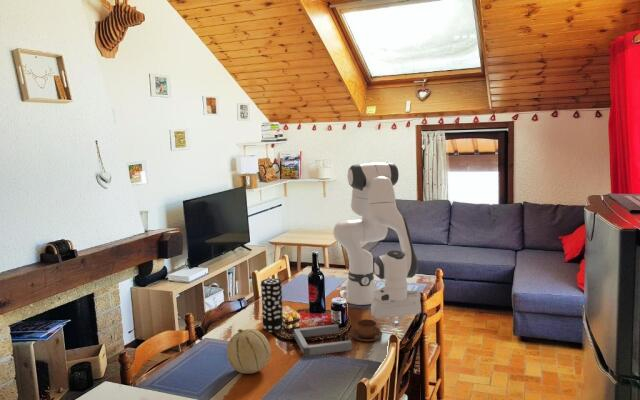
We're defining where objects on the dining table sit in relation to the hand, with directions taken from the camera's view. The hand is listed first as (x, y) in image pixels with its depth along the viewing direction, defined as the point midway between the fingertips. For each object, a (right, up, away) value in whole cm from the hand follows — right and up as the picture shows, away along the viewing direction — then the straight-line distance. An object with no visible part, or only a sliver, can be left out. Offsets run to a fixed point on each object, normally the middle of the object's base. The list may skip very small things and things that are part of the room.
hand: (396, 326), depth 209 cm
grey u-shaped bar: (-29, -5, -7) cm, 30 cm away
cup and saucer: (-12, -4, -3) cm, 13 cm away
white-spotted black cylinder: (-50, -3, +9) cm, 51 cm away
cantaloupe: (-54, -9, -29) cm, 62 cm away
